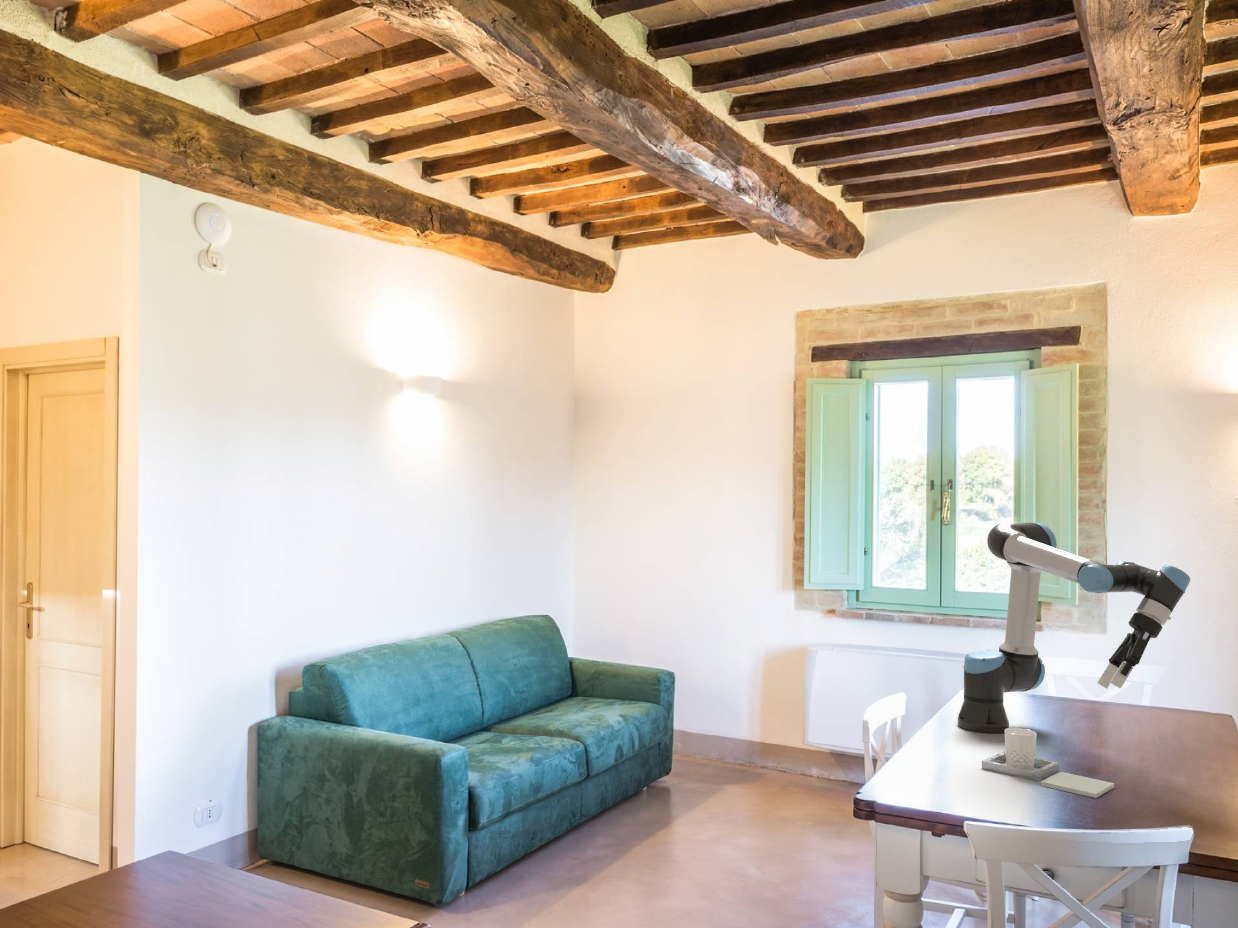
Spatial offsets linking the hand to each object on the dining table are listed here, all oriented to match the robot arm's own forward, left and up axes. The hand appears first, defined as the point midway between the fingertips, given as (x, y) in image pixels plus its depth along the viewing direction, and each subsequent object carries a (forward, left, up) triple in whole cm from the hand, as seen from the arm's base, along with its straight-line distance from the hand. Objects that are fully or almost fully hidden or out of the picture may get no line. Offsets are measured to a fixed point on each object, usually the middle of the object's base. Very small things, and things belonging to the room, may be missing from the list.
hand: (1108, 685), depth 255 cm
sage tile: (0, -23, -22) cm, 32 cm away
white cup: (-16, -19, -22) cm, 33 cm away
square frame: (-16, -19, -22) cm, 33 cm away
